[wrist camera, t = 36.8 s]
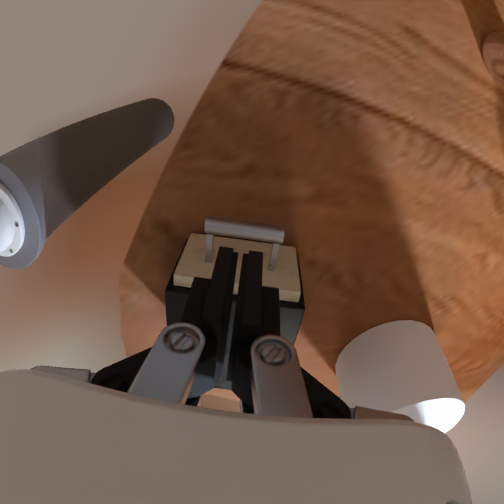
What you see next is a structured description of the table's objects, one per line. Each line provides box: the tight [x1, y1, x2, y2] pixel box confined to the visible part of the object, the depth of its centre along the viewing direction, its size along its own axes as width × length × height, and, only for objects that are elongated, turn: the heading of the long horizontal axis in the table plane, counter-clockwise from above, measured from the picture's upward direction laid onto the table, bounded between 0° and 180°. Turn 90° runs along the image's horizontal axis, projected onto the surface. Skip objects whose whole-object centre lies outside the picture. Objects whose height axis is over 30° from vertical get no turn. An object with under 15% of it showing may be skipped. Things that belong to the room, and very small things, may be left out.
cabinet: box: [165, 238, 305, 390], centre depth 36 cm, size 14×13×10 cm
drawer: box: [174, 217, 301, 302], centre depth 34 cm, size 18×11×8 cm, turn 172°
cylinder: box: [335, 320, 465, 433], centre depth 34 cm, size 17×17×28 cm
